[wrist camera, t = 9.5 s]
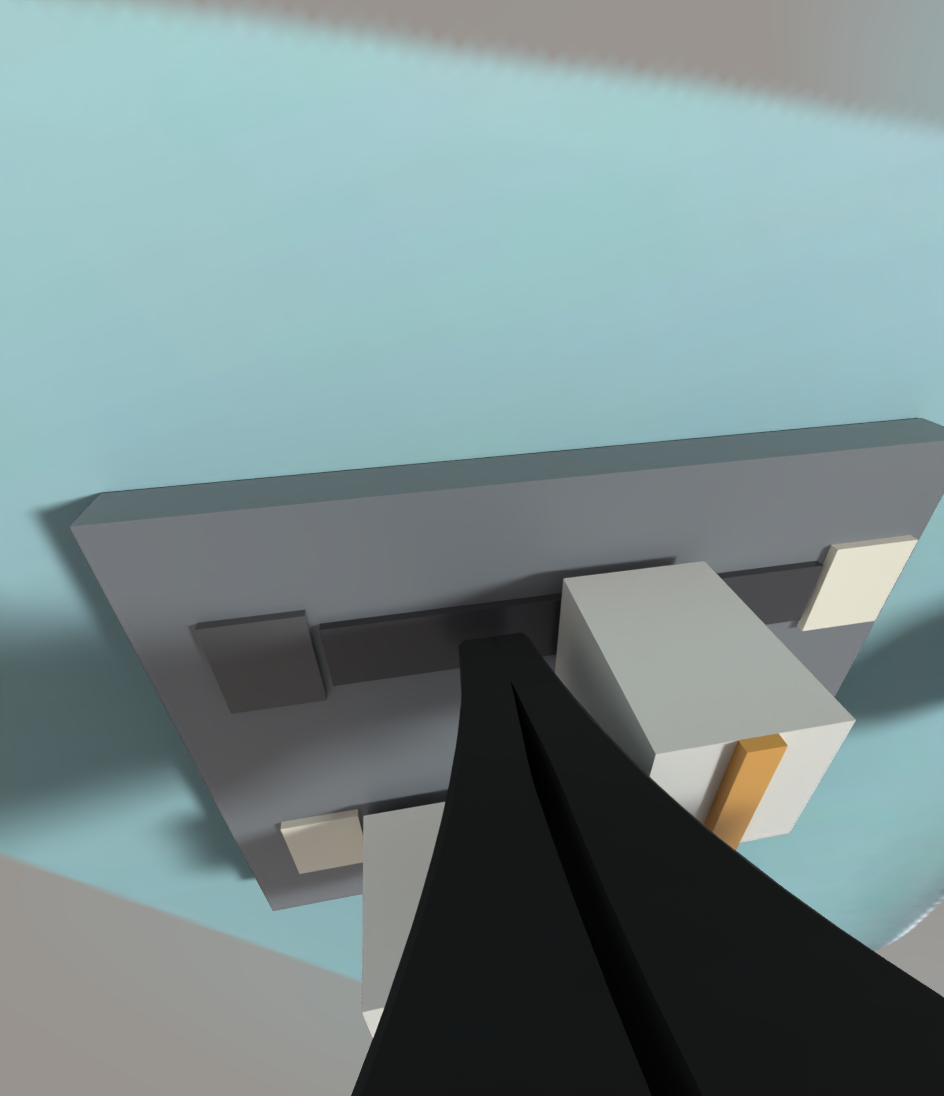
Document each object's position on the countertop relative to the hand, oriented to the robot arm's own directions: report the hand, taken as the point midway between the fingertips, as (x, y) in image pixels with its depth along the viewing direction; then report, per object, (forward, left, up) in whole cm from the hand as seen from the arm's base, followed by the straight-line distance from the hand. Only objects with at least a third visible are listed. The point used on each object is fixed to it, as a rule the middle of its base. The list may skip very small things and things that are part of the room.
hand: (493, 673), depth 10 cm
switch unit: (-3, -2, -2) cm, 5 cm away
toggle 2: (0, -3, -1) cm, 3 cm away
